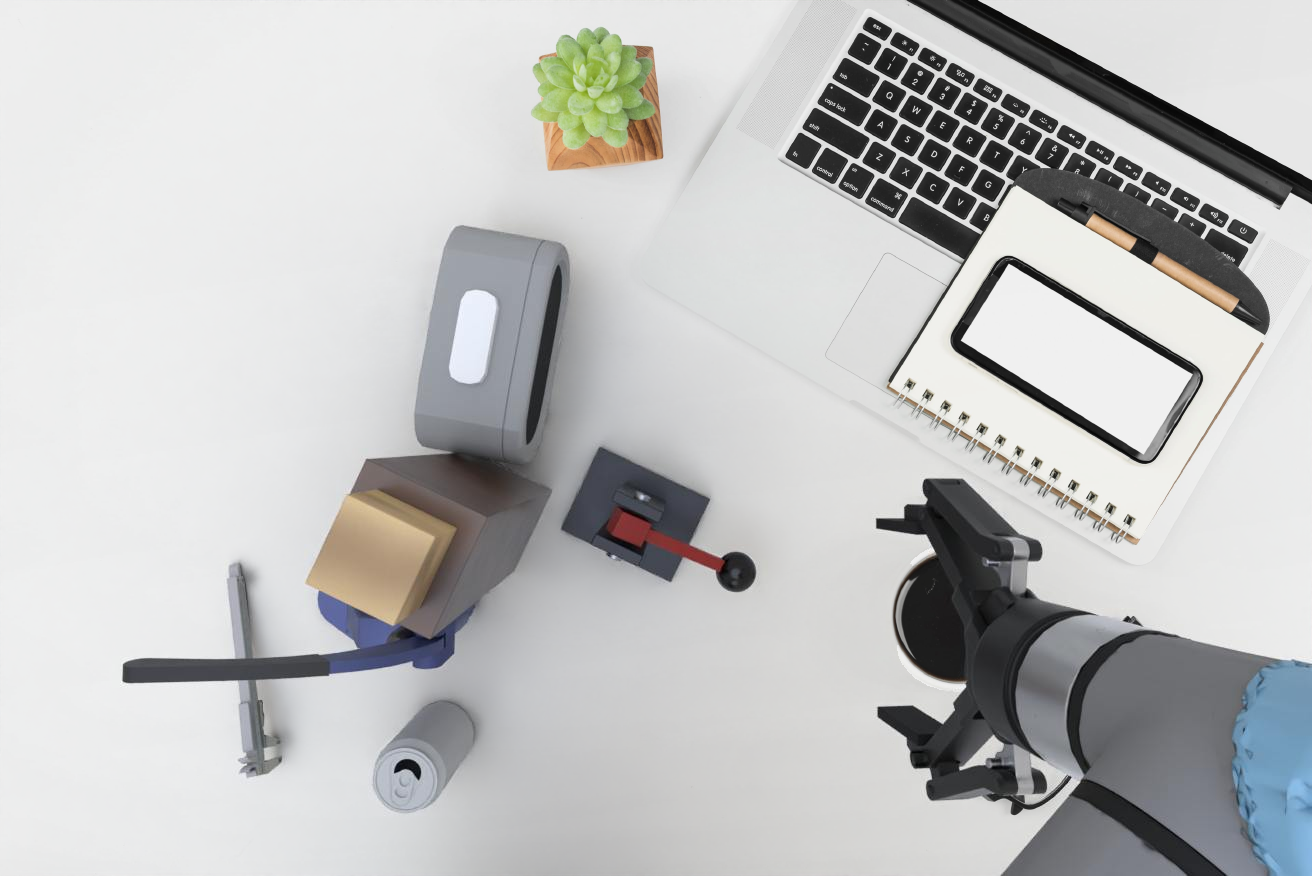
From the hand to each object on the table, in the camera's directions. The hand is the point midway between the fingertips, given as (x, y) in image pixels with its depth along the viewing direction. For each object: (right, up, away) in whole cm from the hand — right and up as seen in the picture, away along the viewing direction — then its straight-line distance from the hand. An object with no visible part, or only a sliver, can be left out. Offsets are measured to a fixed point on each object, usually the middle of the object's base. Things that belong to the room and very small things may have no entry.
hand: (894, 616), depth 60 cm
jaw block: (-34, +6, -6) cm, 35 cm away
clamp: (-43, -3, +23) cm, 49 cm away
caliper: (-58, -10, +23) cm, 63 cm away
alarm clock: (-32, +21, +22) cm, 44 cm away
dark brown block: (-34, +6, +22) cm, 41 cm away
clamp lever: (-15, +3, +13) cm, 21 cm away
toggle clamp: (-19, +6, +22) cm, 30 cm away
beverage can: (-39, -16, +23) cm, 48 cm away
